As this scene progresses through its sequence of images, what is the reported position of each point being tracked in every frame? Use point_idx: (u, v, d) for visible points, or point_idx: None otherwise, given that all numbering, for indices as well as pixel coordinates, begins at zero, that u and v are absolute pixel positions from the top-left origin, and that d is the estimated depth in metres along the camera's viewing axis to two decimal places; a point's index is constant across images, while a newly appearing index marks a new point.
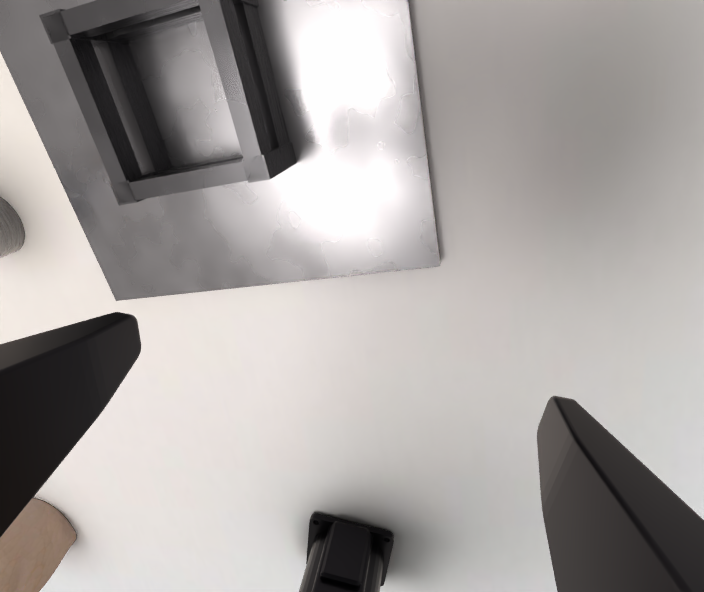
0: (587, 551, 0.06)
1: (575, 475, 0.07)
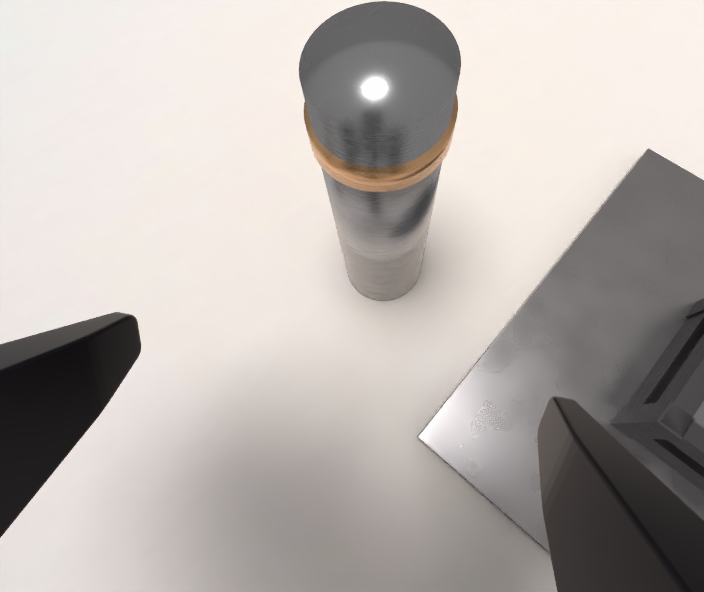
0: (587, 551, 0.06)
1: (575, 475, 0.07)
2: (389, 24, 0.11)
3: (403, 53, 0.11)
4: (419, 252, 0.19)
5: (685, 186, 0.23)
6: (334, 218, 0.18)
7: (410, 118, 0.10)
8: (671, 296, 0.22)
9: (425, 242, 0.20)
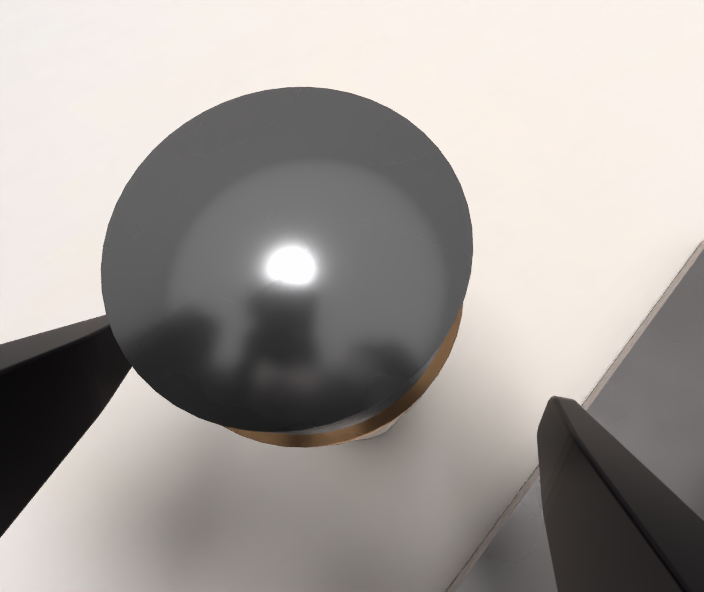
0: (587, 551, 0.06)
1: (575, 475, 0.07)
2: (314, 140, 0.05)
3: (340, 214, 0.05)
4: None
5: None
6: None
7: (347, 397, 0.04)
8: None
9: None
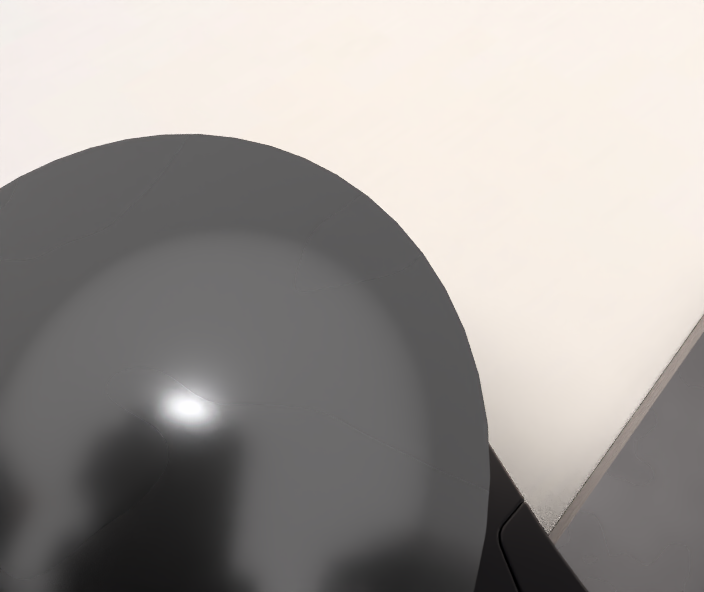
0: None
1: None
2: (201, 235, 0.03)
3: (237, 389, 0.03)
4: None
5: None
6: None
7: None
8: None
9: None
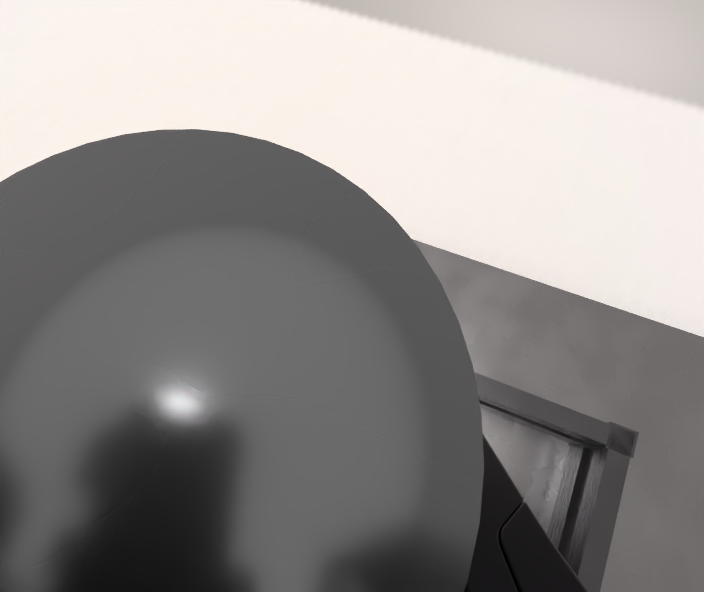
0: None
1: None
2: (198, 229, 0.03)
3: (233, 381, 0.03)
4: None
5: None
6: None
7: None
8: None
9: None
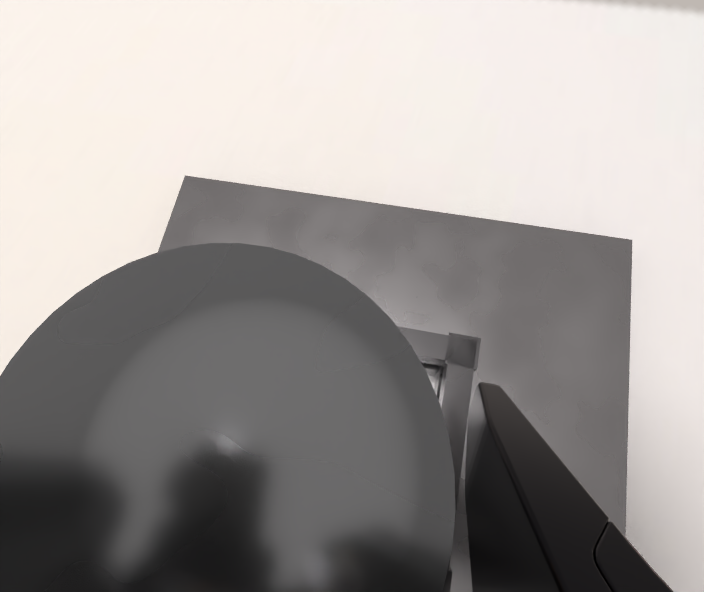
0: (490, 528, 0.07)
1: (486, 456, 0.07)
2: (244, 326, 0.04)
3: (275, 446, 0.03)
4: None
5: (233, 199, 0.20)
6: None
7: None
8: None
9: None
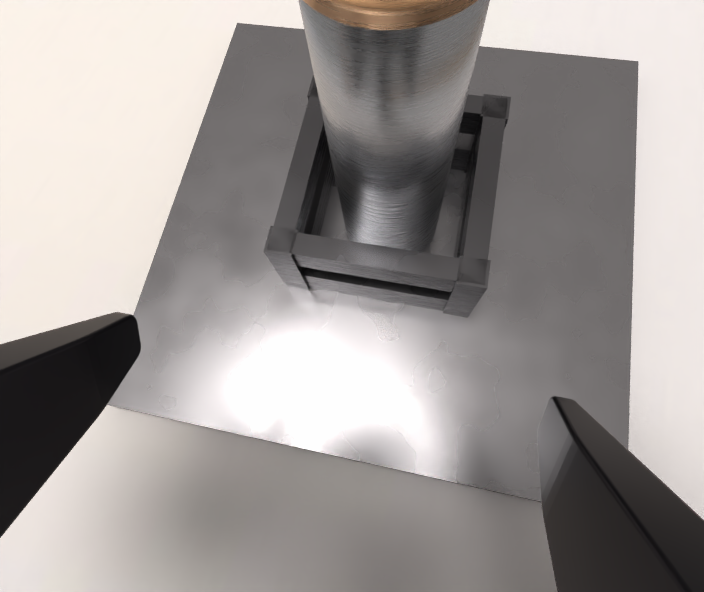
0: (587, 551, 0.06)
1: (575, 475, 0.07)
2: None
3: None
4: (440, 186, 0.14)
5: (281, 40, 0.23)
6: (325, 129, 0.13)
7: None
8: None
9: (448, 175, 0.15)
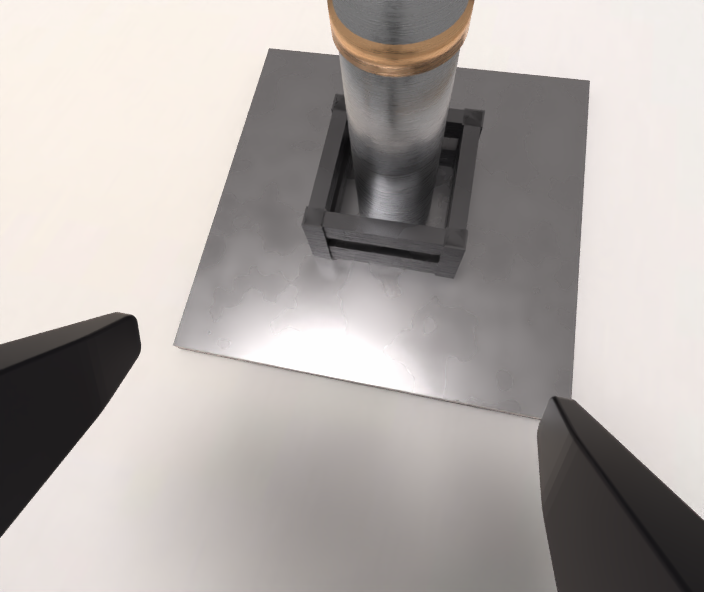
0: (587, 551, 0.06)
1: (575, 475, 0.07)
2: None
3: None
4: (431, 176, 0.20)
5: (305, 62, 0.28)
6: (350, 134, 0.18)
7: None
8: (323, 144, 0.26)
9: (437, 168, 0.20)
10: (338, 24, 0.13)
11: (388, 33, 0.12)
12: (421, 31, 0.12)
